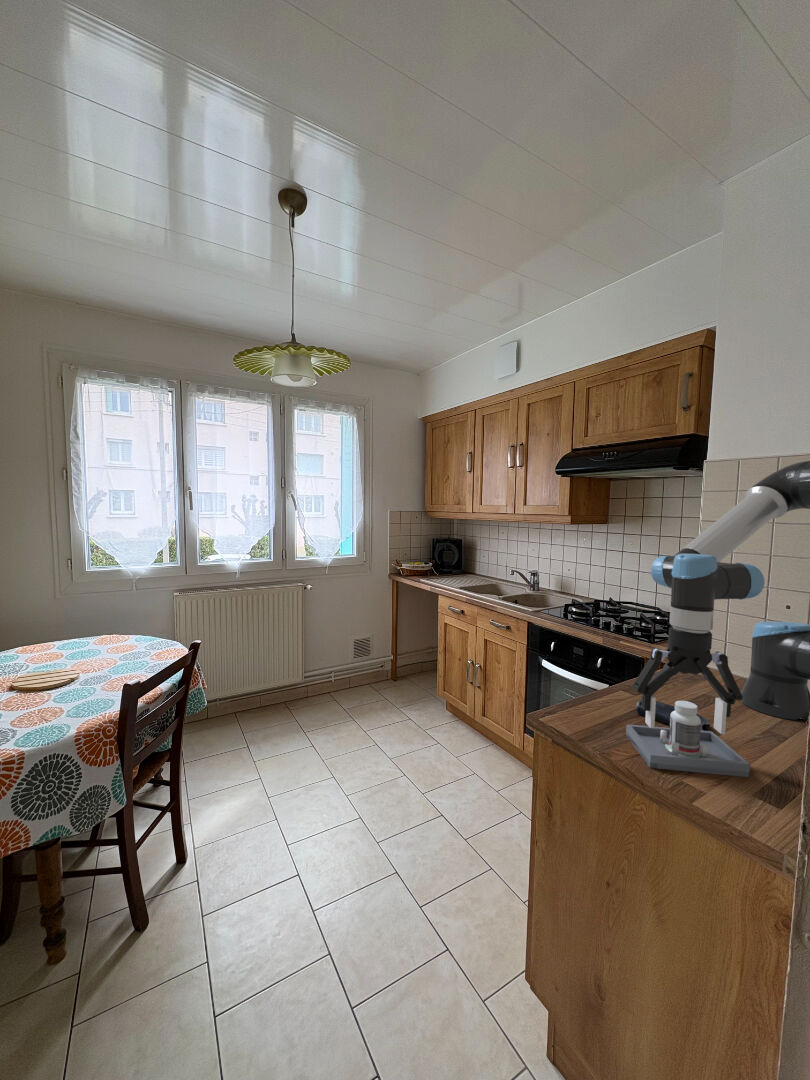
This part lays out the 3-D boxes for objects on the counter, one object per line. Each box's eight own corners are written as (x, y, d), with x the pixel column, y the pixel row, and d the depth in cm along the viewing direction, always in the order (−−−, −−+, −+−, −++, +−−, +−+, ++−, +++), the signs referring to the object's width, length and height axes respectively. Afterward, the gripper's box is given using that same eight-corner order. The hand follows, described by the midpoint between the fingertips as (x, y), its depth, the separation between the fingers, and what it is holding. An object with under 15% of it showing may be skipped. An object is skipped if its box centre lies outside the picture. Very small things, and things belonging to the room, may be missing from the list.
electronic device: (633, 722, 110) (702, 738, 99) (632, 699, 111) (701, 712, 100) (649, 717, 116) (715, 731, 105) (648, 695, 117) (714, 707, 106)
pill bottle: (706, 754, 90) (708, 708, 90) (685, 758, 89) (687, 711, 88) (683, 741, 95) (685, 697, 95) (663, 744, 94) (664, 700, 93)
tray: (711, 742, 98) (712, 727, 97) (748, 777, 85) (750, 759, 84) (626, 735, 100) (626, 720, 100) (649, 767, 87) (650, 750, 87)
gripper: (744, 627, 93) (737, 724, 94) (620, 620, 96) (615, 715, 97) (768, 637, 85) (761, 742, 87) (633, 629, 89) (627, 731, 90)
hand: (684, 728), depth 92 cm, fingers open, 13 cm apart
